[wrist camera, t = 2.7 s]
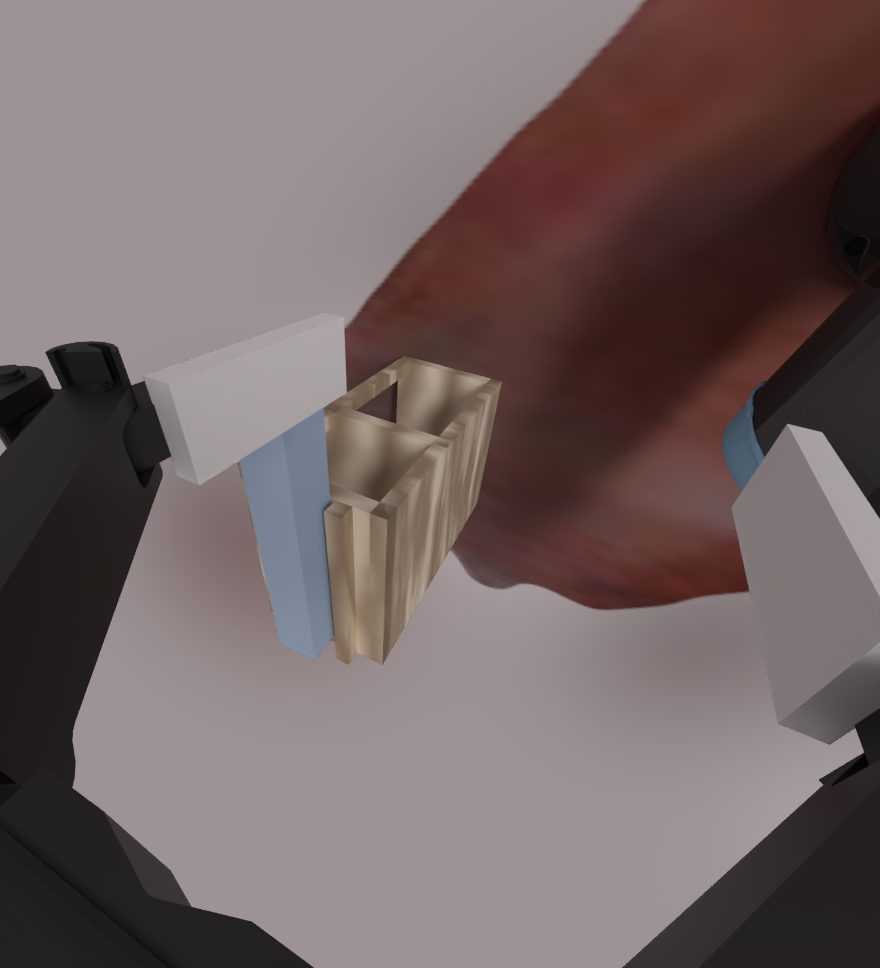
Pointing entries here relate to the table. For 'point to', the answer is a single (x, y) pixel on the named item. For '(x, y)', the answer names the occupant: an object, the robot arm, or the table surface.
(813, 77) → the table surface
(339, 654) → the shelf stand
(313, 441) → the block
